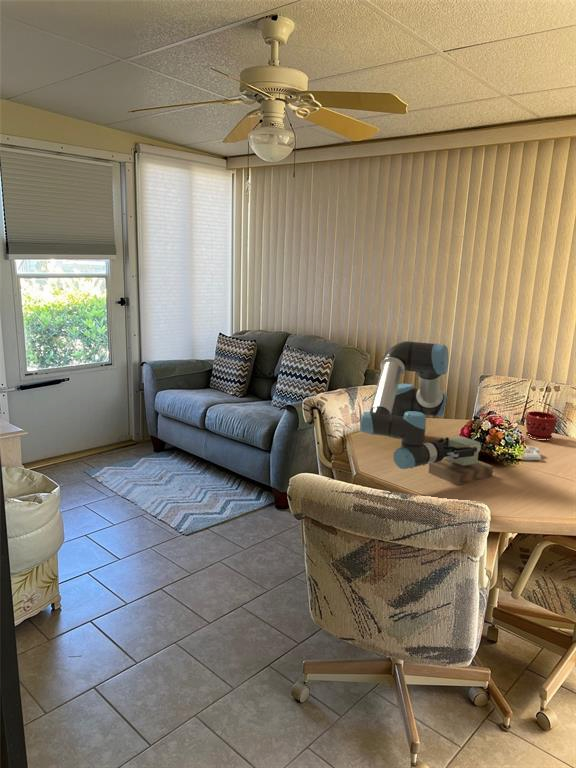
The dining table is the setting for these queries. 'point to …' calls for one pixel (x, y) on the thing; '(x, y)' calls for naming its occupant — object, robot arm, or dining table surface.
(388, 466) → the dining table surface
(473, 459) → the green block
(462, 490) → the dining table surface
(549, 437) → the plant pot
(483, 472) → the block
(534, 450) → the white brass knuckles
